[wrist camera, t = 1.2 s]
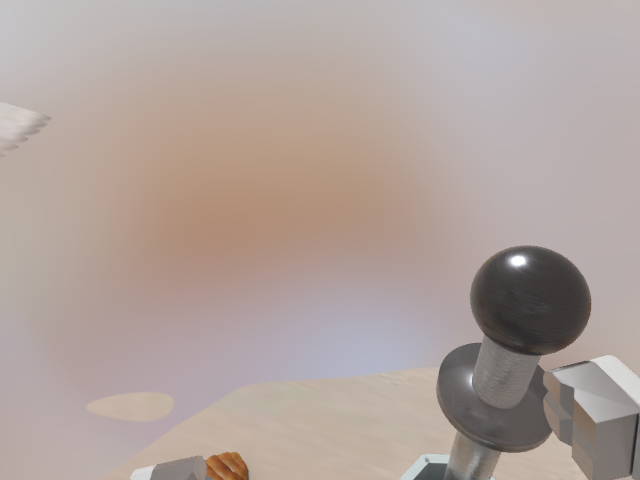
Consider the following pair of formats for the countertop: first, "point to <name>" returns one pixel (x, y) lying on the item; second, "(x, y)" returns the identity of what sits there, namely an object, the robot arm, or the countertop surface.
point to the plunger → (509, 356)
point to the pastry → (227, 467)
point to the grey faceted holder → (428, 468)
